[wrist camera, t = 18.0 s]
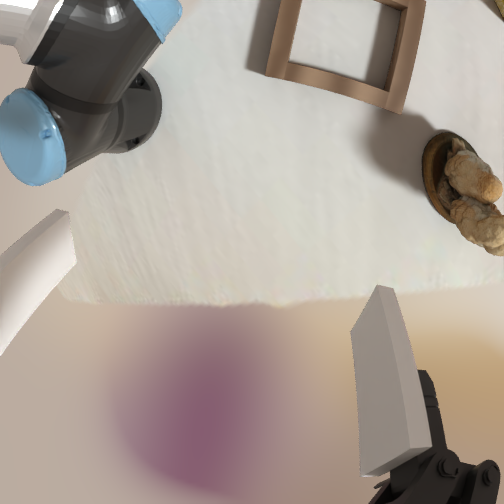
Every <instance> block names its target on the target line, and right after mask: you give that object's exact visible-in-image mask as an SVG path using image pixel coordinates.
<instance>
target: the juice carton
mask: <svg viewBox="0 0 504 504" xmlns="http://www.w3.org/2000/svg"><path fill="white" fill-rule="evenodd" d="M495 2H496V4H497V6H498V8H499V10H500V12H501V14H502V16H503V18H504V0H495Z"/></svg>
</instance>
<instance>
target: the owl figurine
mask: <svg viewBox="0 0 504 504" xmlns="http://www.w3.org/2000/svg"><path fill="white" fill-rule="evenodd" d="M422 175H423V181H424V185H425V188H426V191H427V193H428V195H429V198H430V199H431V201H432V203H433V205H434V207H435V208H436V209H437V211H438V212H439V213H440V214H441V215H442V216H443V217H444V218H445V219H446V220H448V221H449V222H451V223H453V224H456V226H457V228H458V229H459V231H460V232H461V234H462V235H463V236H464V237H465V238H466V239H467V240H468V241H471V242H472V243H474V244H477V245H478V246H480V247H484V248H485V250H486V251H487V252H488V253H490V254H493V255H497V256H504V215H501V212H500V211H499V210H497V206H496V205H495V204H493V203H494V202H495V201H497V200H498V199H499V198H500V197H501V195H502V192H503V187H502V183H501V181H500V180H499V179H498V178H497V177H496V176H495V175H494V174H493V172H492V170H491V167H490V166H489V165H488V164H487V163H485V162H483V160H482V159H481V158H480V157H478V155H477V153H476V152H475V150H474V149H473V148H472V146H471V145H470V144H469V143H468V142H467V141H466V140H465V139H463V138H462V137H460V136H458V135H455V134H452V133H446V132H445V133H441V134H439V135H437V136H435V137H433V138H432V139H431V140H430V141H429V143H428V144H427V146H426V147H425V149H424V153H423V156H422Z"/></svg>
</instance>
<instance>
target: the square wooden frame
mask: <svg viewBox="0 0 504 504" xmlns="http://www.w3.org/2000/svg"><path fill="white" fill-rule="evenodd" d="M374 1H377V2H380V3H382V4H385V5H387V6H390V7H393V8H395V9H398V10H400V11H401V15H400V21H399V26H398V31H397V36H396V40H395V45H394V49H393V54H392V58H391V63H390V67H389V71H388V75H387V79H386V83H385V87H384V90H381V89H379V88H376V87H373V86H370V85H367V84H364V83H362V82H358V81H355V80H352V79H349V78H346V77H343V76H339V75H336V74H332V73H329V72H325V71H322V70H318V69H314V68H310V67H306V66H301V65H297V64H293V63H288V62H289V57H290V53H291V48H292V44H293V39H294V35H295V30H296V26H297V21H298V17H299V12H300V8H301V3H302V0H281V3H280V8H279V12H278V17H277V21H276V26H275V30H274V35H273V39H272V44H271V49H270V53H269V58H268V63H267V67H266V72H265V76H268V77H273V78H278V79H283V80H288V81H292V82H297V83H301V84H305V85H309V86H313V87H317V88H321V89H324V90H328V91H331V92H335V93H338V94H342V95H345V96H348V97H351V98H355V99H358V100H361V101H364V102H367V103H369V104H372V105H375V106H378V107H381V108H383V109H386V110H389V111H391V112H394V113H397V114H399V115H401V113H402V110H403V106H404V103H405V99H406V95H407V91H408V88H409V84H410V80H411V76H412V71H413V67H414V63H415V58H416V54H417V49H418V45H419V40H420V35H421V29H422V24H423V18H424V12H425V6H426V1H425V0H374Z"/></svg>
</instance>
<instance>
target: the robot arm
mask: <svg viewBox="0 0 504 504" xmlns="http://www.w3.org/2000/svg"><path fill="white" fill-rule="evenodd" d="M181 16H182V6H181V3H180V2H179V1H178V0H0V44H4V45H11V46H14V47H15V48H16V49H17V51H18V53H19V56H20V59H21V61H22V63H23V64H29V65H34V66H35V67H34V69H33V71H32V74H31V76H30V78H29V81H28V83H27V85H26V87H25V88H19V89H16V90H15V91H14V92H12V93H11V94H10V95H8V96H7V97H6V98H5V99H4V100H3V102H2V104H1V106H0V152H1V155H2V157H3V160H4V162H5V164H6V165H7V167H8V169H9V170H10V171H11V173H12V174H13V175H14V176H15V177H16V178H17V179H18V180H20V181H21V182H23V183H25V184H27V185H30V186H41V185H44V184H46V183H48V182H51V181H53V180H56V179H58V178H60V177H61V176H62V175H63V174H65V173H66V172H68V171H70V170H72V169H73V168H75V167H77V166H78V165H80V164H82V163H84V162H86V161H87V160H89V159H91V158H93V157H95V156H97V155H99V154H101V153H124V152H128V151H130V150H133V149H135V148H137V147H138V146H140V145H142V144H143V143H145V142H146V141H147V140H148V139H149V138H150V137H151V136H152V134H153V133H154V131H155V130H156V128H157V126H158V123H159V120H160V117H161V111H162V99H161V93H160V90H159V87H158V85H157V83H156V81H155V79H154V78H153V77H152V76H151V74H150V73H148V72H147V71H146V70H145V69H143V68H142V67H143V66H144V65H145V63H146V62H147V61H148V59H149V58H150V57H151V55H152V54H153V53H154V52H155V50H156V49H157V48H158V47H159V45H160V44H161V43H162V44H163V43H164V42H165V37H166V36H167V35H168V33H169V32H170V31H171V30H172V28H173V27H174V26H175V25H176V23H177V22H178V21H179V19H180V18H181ZM76 263H77V260H76V255H75V250H74V244H73V238H72V232H71V225H70V218H69V212H67V211H63V210H59V209H56V210H55V211H53V212H52V213H51V214H50V215H48V216H47V217H46V218H44V219H43V220H42V221H41V222H39V223H38V224H37V225H36V226H34V227H33V228H32V229H31V230H29V231H28V232H27V233H26V234H24V235H23V236H22V237H21V238H20V239H19V240H17V241H16V242H15V243H14V244H13V245H12V246H10V247H9V248H8V249H7V250H6V251H5V252H4V253H3V254H2V255H1V256H0V356H1V354H2V353H3V352H4V350H5V349H6V347H7V346H8V345H9V343H10V342H11V340H12V339H13V338H14V336H15V335H16V334H17V332H18V331H19V330H20V329H21V327H22V326H23V325H24V323H25V322H26V321H27V320H28V318H29V317H30V316H31V315H32V313H33V312H34V311H35V309H36V308H37V307H38V306H39V305H40V303H41V302H42V301H43V300H44V299H45V298H46V296H47V295H48V294H49V293H50V292H51V290H52V289H53V288H54V287H55V286H56V285H57V284H58V283H59V281H60V280H61V279H62V278H63V277H64V276H65V275H66V274H67V273H68V271H69V270H70V269H71V268H72V267H73V266H74V265H75V264H76ZM351 340H352V349H353V358H354V367H355V378H356V391H357V404H358V422H359V448H360V477H370V476H381V475H383V474H385V473H387V472H389V471H390V478H389V479H387V480H385V481H382V482H380V483H378V484H377V485H376V486H375V487H374V488H375V489H377V488H379V487H381V486H382V487H381V488H380V490H379V491H378V492H377V494H376V495H375V496H374V497H373V499H372V500H371V501H370V502H369V504H496V499H497V495H498V489H499V484H500V470H499V467H498V465H497V464H496V463H495V462H494V461H492V460H486V461H484V462H482V463H480V464H479V465H477V466H476V465H471V464H467V463H463V462H460V460H459V457H457V455H456V454H455V453H454V452H453V451H451V450H448V449H447V446H446V441H445V435H444V430H443V424H442V419H441V414H440V410H439V408H438V401H437V398H436V392H435V388H434V384H433V381H432V380H431V378H430V377H429V375H428V373H427V372H426V370H417V367H416V363H415V359H414V356H413V351H412V348H411V345H410V340H409V337H408V333H407V330H406V327H405V323H404V320H403V317H402V314H401V310H400V307H399V304H398V301H397V298H396V295H395V292H394V289H393V288H389V287H385V286H380V285H377V286H376V287H375V289H374V291H373V293H372V295H371V297H370V299H369V300H368V302H367V304H366V306H365V308H364V309H363V311H362V313H361V315H360V316H359V318H358V320H357V321H356V323H355V325H354V327H353V328H352V330H351Z"/></svg>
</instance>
